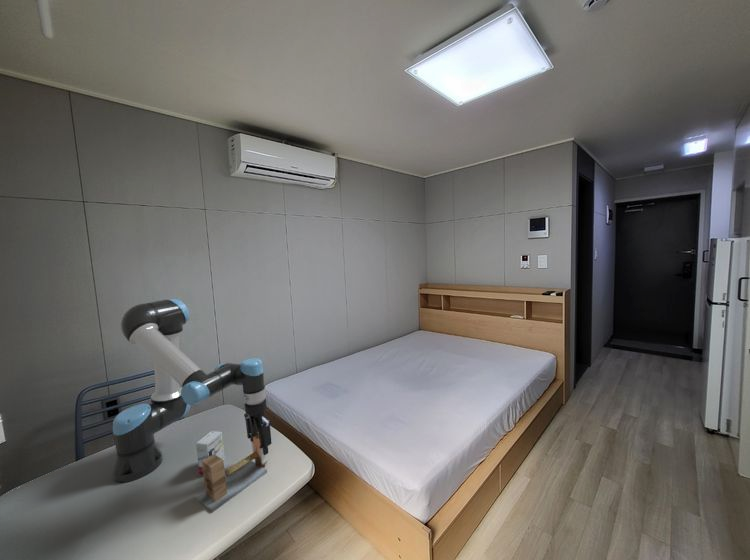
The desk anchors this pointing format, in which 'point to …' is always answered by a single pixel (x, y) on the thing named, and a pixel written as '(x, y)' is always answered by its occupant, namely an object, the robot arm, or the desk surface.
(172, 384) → the robot arm
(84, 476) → the desk surface
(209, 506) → the eye post
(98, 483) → the desk surface
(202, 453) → the ink box
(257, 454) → the copper-capped brass rod
